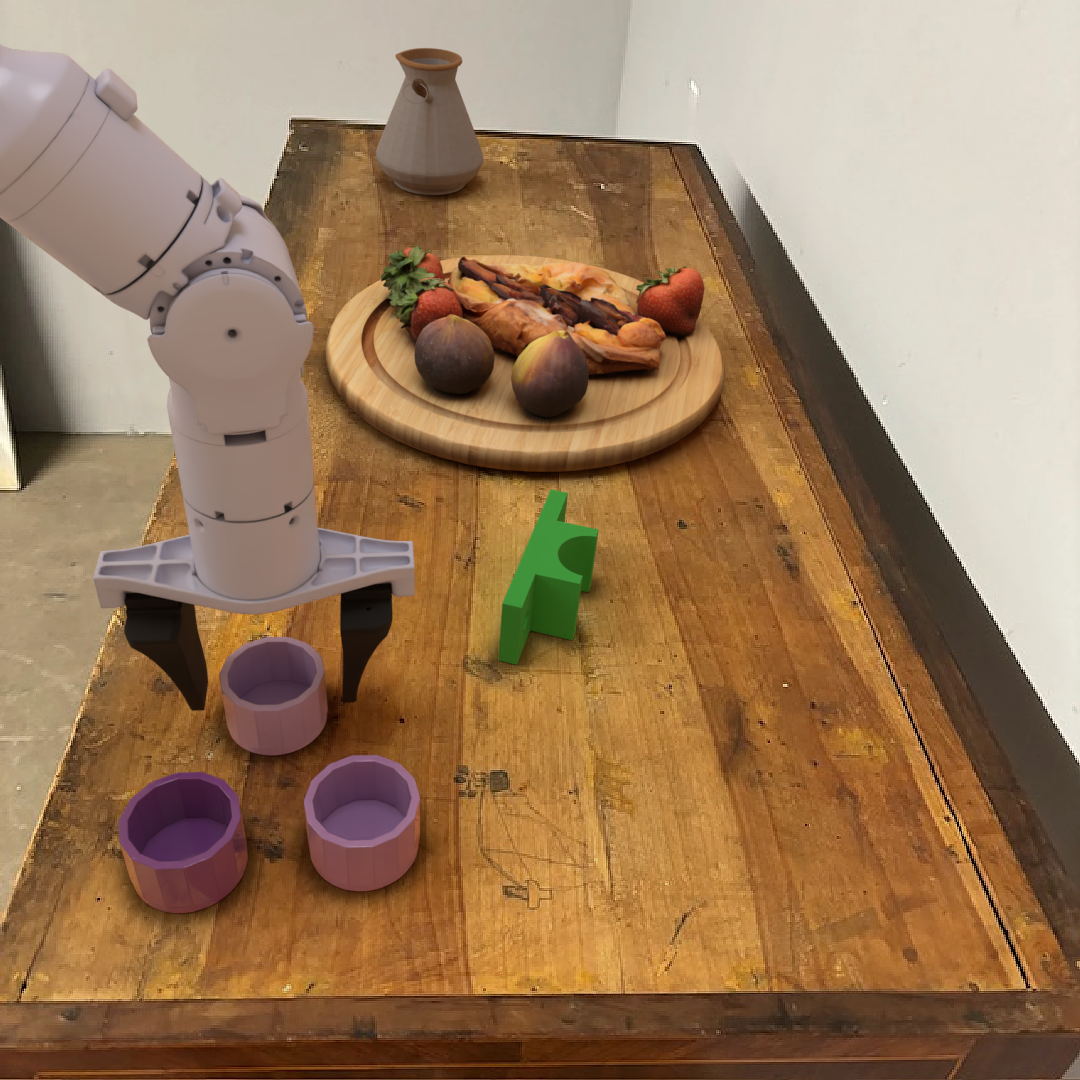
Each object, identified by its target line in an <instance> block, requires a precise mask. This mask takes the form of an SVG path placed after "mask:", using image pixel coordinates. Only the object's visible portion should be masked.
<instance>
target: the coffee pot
mask: <svg viewBox="0 0 1080 1080" xmlns="http://www.w3.org/2000/svg"><path fill="white" fill-rule="evenodd" d="M395 59H396V60H397V62H398V63H399V65H400V67H401V69H402V71H403V72H404V76H405V77H404V79H403V81H402V84H401V87H400V89H399V92H398V94H397V96H396V99H395V102H394V105H393V106H392V108H391V109H392V110H391V111H390V114H389V116H388V119H387V122H386V124H385V126H384V129H383V132H382V133H381V137H380V139H379V142H378V144H377V147H376V149H375V159H376V161H377V164H378V165H379V168H380V169H381V171H382V173H384V174H385V175H386V177H387V178H389V179H390V180H392V181H393V183H394V184H395V186H396V187H398V188H399V189H401V190H404V191H406V192H408V193H413V194H416V195H423V196H441V195H442V196H443V195H448V194H455V193H456V192H459V191H461V190H462V189H463V188H464V187H465V186H466V184H468V183H469V182H471V181H472V180H473V179H474V178H475V177H477V175H478V173H479V172H480V171H481V168H482V166H483V163H484V159H485V158H484V153H483V151H482V148H481V144H480V142H479V139H478V137H477V134H476V131H475V128H474V126H473V123H472V121H471V118H470V115H469V113H468V109H467V107H466V104H465V102H464V99H463V97H462V94H461V91H460V88H459V86H458V83H457V80H456V77H457V74H458V69H459V67H460V66H461V65H462V64H463V58H462V56H461V55H460V54H458V53H456V52H454V51H450V50H447V49H442V48H433V47H417V48H410V49H405V50H403V51H400V52H398V53H396V54H395Z"/></svg>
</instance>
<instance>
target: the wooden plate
mask: <svg viewBox="0 0 1080 1080" xmlns="http://www.w3.org/2000/svg"><path fill="white" fill-rule="evenodd" d="M432 251H433V249H423V248H422V247H420V246H419V245H415V246H413V247H407V248H405V249H403V250H402V249H399V251H398V250H397V249H396V250H395V251H394V252H391V253H390V254H389V255H388V256H387V258H388V261H389V264H388V265H387V266H386V267H384V268H383V273H382V274H381V275H380V278H379V280H377V281H375V282H374V283H372V284H370V285H369V286H367V287H366V288H364V289H362V290H361V291H360V292H358V293H357V294H355V295H354V296H353V297H352V298H350V300H348V301H347V302H346V303H345V304H344V306H342V308H341V309H340V310H339V311H338V313H337V315H336V316H335V318H334V319H333V321H332V323H331V325H330V327H329V330H328V335H327V337H326V343H325V363H326V368H327V371H328V376H329V378H330V381H331V383H332V385H333V387H334V388H335V390H336V391H337V393H338V395H339V396H340V397H341V399H342V400H343V401H344V402H345V403H346V404H347V406H348V407H349V408H350V409H351V410H352V411H353V412H354V413H356V414H357V415H358V416H359V417H360V418H361V419H362V420H364V421H365V422H366V423H367V424H368V425H370V426H372V428H375V430H377V431H379V432H380V433H382V434H384V435H386V436H387V437H389V438H391V439H393V440H395V441H397V442H398V443H401V444H404V445H405V446H409V447H411V448H413V449H414V450H415V449H416V450H418V451H420V452H423V453H426V454H429V455H432V456H436V457H438V458H442V459H445V460H450V461H453V462H458V463H461V464H466V465H468V466H469V465H470V466H476V467H482V468H488V469H496V470H502V471H517V472H518V471H519V472H537V473H539V472H540V473H541V472H542V473H543V472H544V473H545V472H546V473H547V472H551V473H553V472H571V471H572V472H573V471H582V470H583V471H584V470H590V469H599V468H605V467H609V466H615V465H619V464H623V463H628V462H632V461H636V460H639V459H642V458H644V457H647V456H650V455H652V454H654V453H657V452H659V451H661V450H663V449H665V448H667V447H669V446H671V445H673V444H675V443H676V442H678V441H680V440H682V439H683V438H684V437H686V436H688V435H690V434H691V433H692V432H693V431H694V430H695V429H696V428H697V427H699V426H700V425H701V424H702V423H703V422H704V421H705V419H707V417H708V416H709V415H710V414H711V412H712V411H713V409H714V408H715V406H716V405H717V403H718V402H719V400H720V397H721V395H722V391H723V390H724V389H723V388H724V383H725V372H726V371H725V363H724V356H723V353H722V351H721V348H720V346H719V344H718V342H717V341H716V338H715V337H714V335H713V333H712V331H711V330H710V328H709V327H708V326H707V325H706V323H704V322H703V321H702V320H701V319H700V314H701V310H702V304H703V300H704V295H705V284H704V279H703V277H702V275H701V273H700V272H698V270H697V269H695V268H691V267H687V266H686V265H683V266H682V267H681V266H679V267H678V269H677V270H676V268H675V266H673V267H672V268H670V267H669V268H668V267H667V268H665V270H666V272H665V273H664V272H662V271H660V270H657V272H658V274H659V275H660V277H659V278H655V279H649V278H648V277H647V276H643V279H645V281H646V282H643V281H641V280H639V279H637V278H634V277H631V276H629V275H626V274H623V273H620V272H617V271H614V270H610V269H607V268H603V267H599V266H595V265H592V264H587V263H584V262H577V261H573V260H568V259H567V260H566V259H561V258H553V257H545V256H535V255H517V254H495V255H474V256H461V257H456V258H448V259H442V260H440V259H439V258H438V257H437V256H436V255H435V254H434V253H430V252H432Z"/></svg>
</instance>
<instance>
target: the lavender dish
mask: <svg viewBox="0 0 1080 1080" xmlns="http://www.w3.org/2000/svg"><path fill="white" fill-rule="evenodd" d="M218 676H219V683H220V691H221V692H220V693H221V697H222V704H223V709H224V716H225V721H226V726H227V729H228V732H229V735H230V737H231V738H232V740H233V741H234V742H235V743H236V745H238V746H239V747H241V748H242V749H244V750H246V751H248V752H250V753H252V754H257V755H262V756H282V755H287V754H291V753H294V752H297V751H299V750H302V749H303V748H305V747H307V746H308V745H310V744H311V743H312V742H314V741H315V740H316V738H318V737H319V735H320V734H321V733H322V731H323V730H324V729H325V726H326V723H327V719H328V710H329V707H328V696H327V695H328V694H327V683H326V682H327V681H326V671H325V666H324V662H323V657H322V656H321V654H320V653H319V652H318V651H317V650H315V648H313V647H312V645H310V643H308V642H305V641H302V640H299V639H296V638H293V637H290V636H266V637H262V638H259V639H256V640H253V641H249V642H246V643H244V644H243V645H241V646H239V648H237V649H236V650H234V651H233V652H232V653H231V654H229V655H228V656H227V657H226V660H225V661H224V663H223V665H222V667H221V669H220V671H219V674H218Z"/></svg>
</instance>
